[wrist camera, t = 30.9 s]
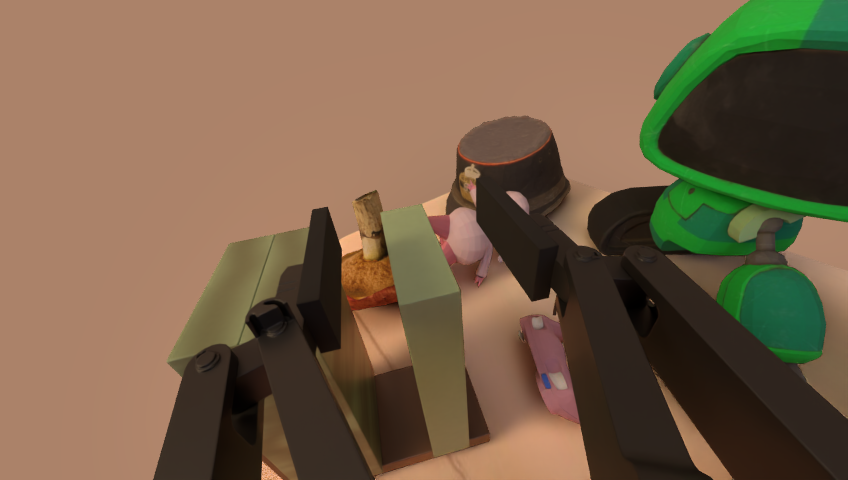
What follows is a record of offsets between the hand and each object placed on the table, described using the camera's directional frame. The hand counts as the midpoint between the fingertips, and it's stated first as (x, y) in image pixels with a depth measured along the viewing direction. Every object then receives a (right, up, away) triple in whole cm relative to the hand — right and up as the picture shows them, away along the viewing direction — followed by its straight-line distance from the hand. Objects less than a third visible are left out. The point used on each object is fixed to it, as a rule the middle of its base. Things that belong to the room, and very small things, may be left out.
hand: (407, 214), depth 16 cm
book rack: (-2, -18, +12) cm, 22 cm away
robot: (+35, -8, +22) cm, 42 cm away
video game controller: (+14, -15, +14) cm, 25 cm away
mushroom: (-2, +4, +21) cm, 21 cm away
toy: (+17, +1, +29) cm, 33 cm away
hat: (+17, +5, +42) cm, 45 cm away
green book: (+2, -16, +12) cm, 20 cm away
